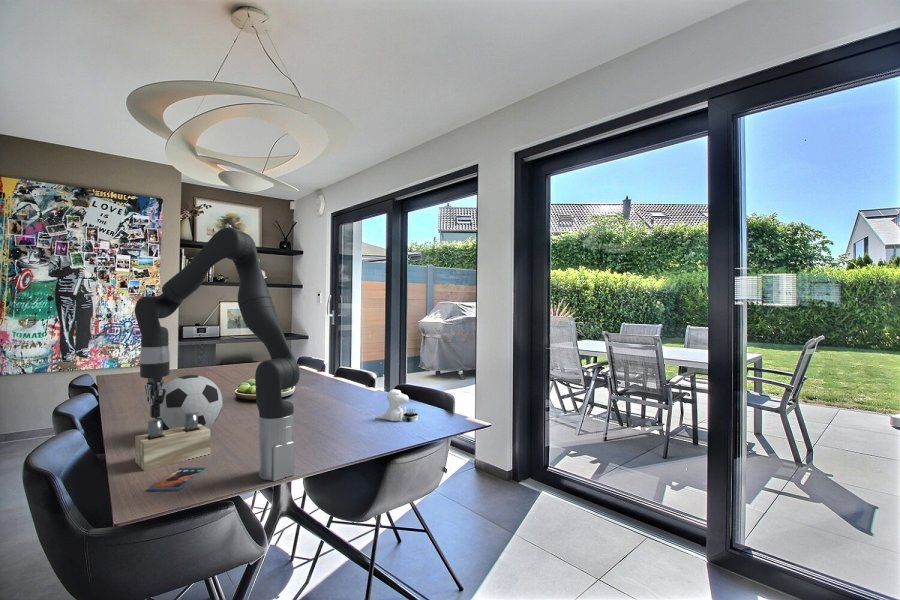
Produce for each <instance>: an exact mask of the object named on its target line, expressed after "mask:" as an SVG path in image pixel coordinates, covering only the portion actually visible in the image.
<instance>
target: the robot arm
mask: <svg viewBox="0 0 900 600" xmlns="http://www.w3.org/2000/svg"><path fill="white" fill-rule="evenodd" d="M224 259H227V260H230V261H232V262H233V264H234V265H235V268H236V271H237V273H238V279H239V284H238V285H239V287H238V292H237V305H238V308H239V312H240V315H241V317H242V320H243V322H244V324H245V325H246V327H247V328H248V329H249V331H250V332H251V333H253V335H255V337H256V338H258V339H259V340H260V342H261V343H263V345H264V346H265V348H266V349H267V351H268V354H269V356H270V358H271V359H267V360H263V361H261V362H260V363H259V364H258V365H257V367H256V369H255V374H254V376H255V377H254V383H255V384H254V385H255V386H254V387H255V403H256V406H257V410H258V416H259V417H258V423H259V425H258V438H259V439H258V462H259V463H258V464H259V465H258V467H259V469H258V471H259V473H258V474H259V475H258V476H259V478H260V479H262V480H264V481H272V482H276V481H279V480H282V479H286V478H289V477H293V476H295V441H294V440H295V439H294V432H295V431H294V418H295V417H294V412H295V411H294V410H295V409H294V408H295V407H294V403H293V402H291V401H288V400H284V399H283V397H282V390H283V391H284V390H287V389H291V388H294V387H295V386H296V385H298V383H299V380H300V375H301V374H300V368H299V365H298V362H297V360H296V358H295V355H294V353H293V351H292V349H291V347H290V345H289V343H288V340H287V339H286V337H285V334H284V331H283V328H282V326H281V323H280V320H279V317H278V315H277V314H278V313H277V312H276V307H275V304H274V302H273V299H272V297H271V294H270V291H269V288H268V285H267V283H266V279H265V277H264V275H263V271H262V268H261V264H260V260H259V255H258V250H257V246H256V242H255V241H254V239H253V238H252V236H251V235H249V234H247V233H246V232H243V231H241V230H239V229H236V228H235V227H230V226H228V227H226V226H225V227H223V228H220V229H218V230H217V231H216V232H215V233H214V234H213V236H211V237H210V239H208V241H207V243H205V245H204V246H202V248H201V249H200V250H199V252H198V253H196V255H195V256H193V258H192V259H191V260H190V262H189V263H188V264H186V266H184V267H183V268H181V270H180V271H179V272H177V273H176V274H175V275H173V276H172V277H171V278H169V279H168V280H167V281H166V282H165V283H164V284H163V285H162V287H161V292H162V293H161V294H159V295H147V296H145V295H144V296H141V297H140V298H139V299H138V300H137V301H136V303H135V306H134V315H135V319H136V321H137V325H138V328H139V332H140V354H139V377H140V378H142V379H147V382H146V383H145V385H144V388H145V394H146V398H147V399H146V400H147V403H148V405H149V406H150V407H149V408H150V409H149V413H150V415H149V417H150V418H152V419H155V418H157V417H160V405H161V404H162V403H163V400H164V396H165V392H166V390H165V389H163V388H164V386H165V382H164V381H163V377H168V376H169V375H170V374H171V373H170V372H171V371H170V370H171V369H170V364H171V363H170V358H171V357H170V348H169V344H170V343H169V330H168V328H167V327H166V326H165V327H164V326H161V323H160V320H159V319H165V318H167V317H170V316H172V315H173V313H175V312H176V311H177V309H178V308H179V307H180V306H181V304H182V303H183V301H184V300H186V299H187V298H188V297H189V296H191V295H192V294H193V293H195V291H197V290H198V289H199V288H200V287H201V286H202V285H203V283H204V281H205V279H206V277H207V274H208V272H209V271H210V270H211V269H212V268H213V266H215V265H216V264H218V262H221V261H222V260H224ZM285 477H286V478H285Z"/></svg>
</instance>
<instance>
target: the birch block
mask: <svg viewBox="0 0 900 600" xmlns="http://www.w3.org/2000/svg"><path fill="white" fill-rule="evenodd" d="M134 438H135V439H134V440H135V443H134V444H135V446H134V448H135V454H134V455H135V463H136V465H138V467H140V468H141V469H142V470H143V471H146V472H147V471H149V470H154V469H157V468H162V467H165V466H169V465H173V464H176V463H177V462H178V463H181V461H182V462H184V461H185V460H186V461H189V460H188V459H190V460H193V459H192V458H194V459H196V457H198V458H201V457H200V456H202V457H205V456H204V455H206V456H209V455H208V454H210V455H211V429H210V428H206V427H205V426H203V425H201V424H198V430H195V431H190V432H185V427H180V428H175V429H170V430H165V431H164V430H162V437H161V438H156V439H151V440H148V433H145V434H140V435H139V434H138V435H135V437H134ZM186 461H185V462H186ZM178 463H177V464H178ZM153 468H154V469H153Z"/></svg>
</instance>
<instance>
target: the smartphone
mask: <svg viewBox="0 0 900 600" xmlns="http://www.w3.org/2000/svg"><path fill="white" fill-rule="evenodd" d="M207 469H208V468H207V467H179V468H177V469H175V470H174V471H173V472H171V473H169V474H168V475H166V476H165V477H163V478H161V479H160V480H159V481H157V482H156V483H154V484H153V485H151V486H150V487H148V488H147V491H148V492H167V491H169V492H170V491H171V492H172V491H176V492H177V491H180V490H181V489H183V488H184V487H185V486H187V485H188V484H189V483H191V482H192V481H193V480H194V479H196V478H197V477H199V474H200V473H201V474H202V473H204V472H205V471H206V470H207ZM204 470H205V471H204ZM203 471H204V472H203ZM201 474H200V475H201ZM195 477H196V478H195Z"/></svg>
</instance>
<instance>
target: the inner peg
mask: <svg viewBox="0 0 900 600" xmlns="http://www.w3.org/2000/svg"><path fill="white" fill-rule="evenodd" d="M195 430H198V413H187V414H185V432H190V431H195Z"/></svg>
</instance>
